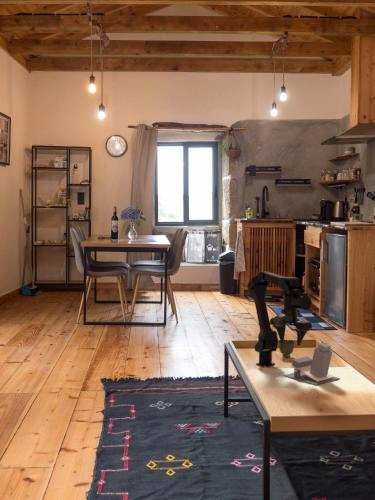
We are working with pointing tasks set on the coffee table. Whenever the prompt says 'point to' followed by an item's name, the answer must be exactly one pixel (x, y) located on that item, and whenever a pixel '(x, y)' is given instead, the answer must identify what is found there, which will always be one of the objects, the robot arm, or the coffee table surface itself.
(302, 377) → the stand
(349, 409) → the coffee table surface
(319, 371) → the stone pillar
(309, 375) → the trapdoor flap
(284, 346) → the cup
